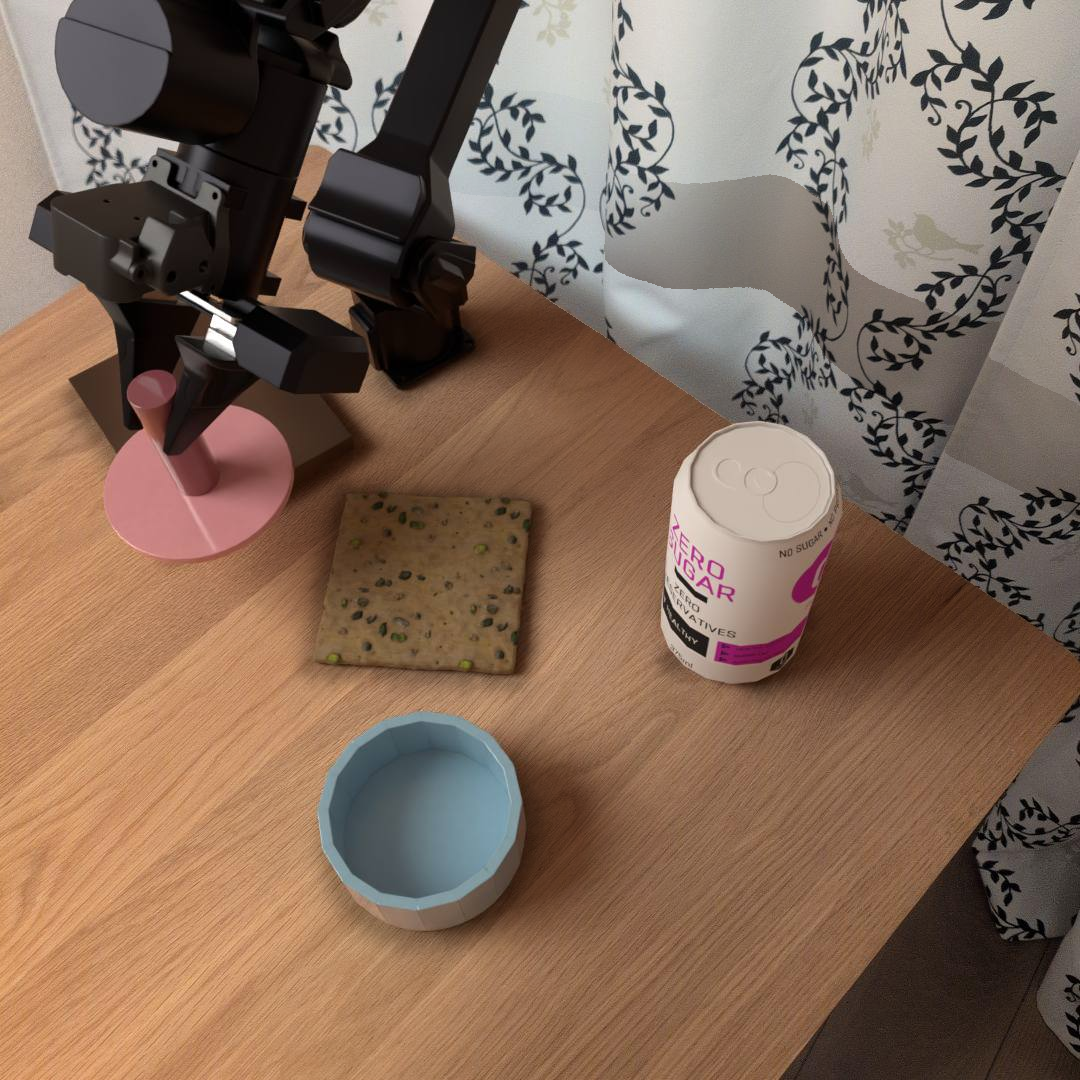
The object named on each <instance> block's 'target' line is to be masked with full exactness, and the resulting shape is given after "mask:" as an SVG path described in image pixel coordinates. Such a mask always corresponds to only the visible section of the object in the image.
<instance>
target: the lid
mask: <svg viewBox="0 0 1080 1080" xmlns="http://www.w3.org/2000/svg"><path fill="white" fill-rule="evenodd" d="M178 386H179V384H178V382H177V380H176V378H175V377H174V376H173V375H172V374H171V373H169V372H167V371H164V370H150V371H146V372H144V373H142V374H140V375H138V376H137V377H136V378H134V379H133V380H132V382H131V383H130V385H129V386H128V389H127V398H128V401H129V402H130V404H131V406H132V408H133V410H134V411H135V413H136V415H137V417H138V419H139V421H140V422H141V424H142V426H143V429H142V430H140V431H138V432H137V433H136V434H135V435H133V436H132V437H131V438H130V439H129V440H128V441H127V442H126V443H125V445H124V446H123V447H122V448H121V450H120V451H119V452H118V454H117V455H116V454H115V457H114V459H113V460H112V462H111V464H110V466H109V469H108V470H107V473H106V477H105V482H104V483H103V495H102V496H103V506H104V511H105V515H106V517H107V520H108V522H109V524H110V526H111V528H112V529H113V531H114V532H115V534H116V535H117V536H118V537H119V539H120V540H121V541H122V542H123V543H124V544H125V545H126V546H128V547H129V548H130V549H131V550H133V551H134V552H135V553H138V554H139V555H141V556H143V557H146V558H148V559H151V560H153V561H157V562H160V563H161V562H162V563H167V564H174V565H191V564H203V563H207V562H210V561H215V560H218V559H221V558H225V557H227V556H229V555H232V554H234V553H236V552H239V551H240V550H242V549H244V548H246V547H247V546H249V545H250V544H252V543H253V542H255V541H256V540H257V539H259V538H260V537H261V536H263V534H265V533H266V532H267V531H268V530H269V529H270V528H271V527H272V525H274V523H275V522H276V521H277V520H278V519H279V517H280V516H281V514H282V512H283V511H284V509H285V507H286V505H287V503H288V501H289V499H290V496H291V494H292V490H293V487H294V485H293V481H294V464H293V458H292V455H291V452H290V449H289V446H288V444H287V442H286V440H285V438H284V436H283V435H282V434H281V432H280V431H279V430H278V429H277V428H276V427H275V426H274V425H273V424H272V423H271V422H270V421H269V420H267V419H266V418H264V417H263V416H261V415H259V414H257V413H255V412H253V411H251V410H248V409H245V408H242V407H238V406H233V405H229V406H228V407H227V408H226V409H225V410H224V411H223V412H222V413H221V414H220V415H219V416H218V417H217V418H216V419H215V421H214V422H213V423H212V424H211V425H210V426H209V427H208V428H207V429H206V430H205V431H204V432H203V433H202V434H201V435H200V436H199V437H198V438H197V439H196V440H195V441H194V442H193V443H192V444H191V445H190V446H189V447H188V448H187V449H186V450H185V451H184V452H183V453H182V454H181V455H178V456H167V455H165V454H164V453H163V444H164V438H165V432H166V427H167V424H168V420H169V417H170V413H171V410H172V406H173V403H174V400H175V396H176V393H177V389H178Z"/></svg>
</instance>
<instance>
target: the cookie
mask: <svg viewBox="0 0 1080 1080" xmlns="http://www.w3.org/2000/svg"><path fill="white" fill-rule="evenodd" d="M532 507H533V506H532V503H531V502H530V501H526V500H517V499H511V498H510V497H507V496H504V497H501V498H495V497H489V496H486V497H473V496H458V497H457V496H424V495H423V496H422V495H411V494H402V493H400V494H399V493H398V494H397V493H390V492H388V491H381V492H380V491H379V492H378V493H377V492H376V493H372V492H371V493H369V492H367V491H365V492H364V493H348V494H347V495H346V499H345V504H344V507H343V512H342V516H341V518H340V524H339V532H338V536H337V538H336V542H335V548H334V555H333V560H332V564H331V569H330V575H329V578H328V580H327V581H326V583H325V584H326V591H325V595H324V598H323V609H322V614H321V618H320V623H319V625H318V628H317V635H316V642H315V648H314V650H313V653H312V660H313V662H314V663H315V664H328V665H333V666H337V665H354V666H362V667H363V666H364V667H376V666H377V667H385V668H387V667H388V668H394V669H395V668H396V669H409V670H414V671H416V670H417V671H418V670H428V671H445V670H446V671H448V670H449V671H450V670H452V671H457V672H464V673H468V672H476V673H477V672H478V673H485V674H493V675H514V671H515V668H516V665H517V659H516V657H517V653H518V651H519V646H518V644H519V635H520V634H521V629H520V626H521V613H522V612H523V611H524V605H523V594H524V592H525V590H526V584H525V580H526V563H527V555H528V552H529V551H528V550H529V541H530V538H531V535H530V531H531V524H532V522H533V520H532V513H533V509H532Z"/></svg>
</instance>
